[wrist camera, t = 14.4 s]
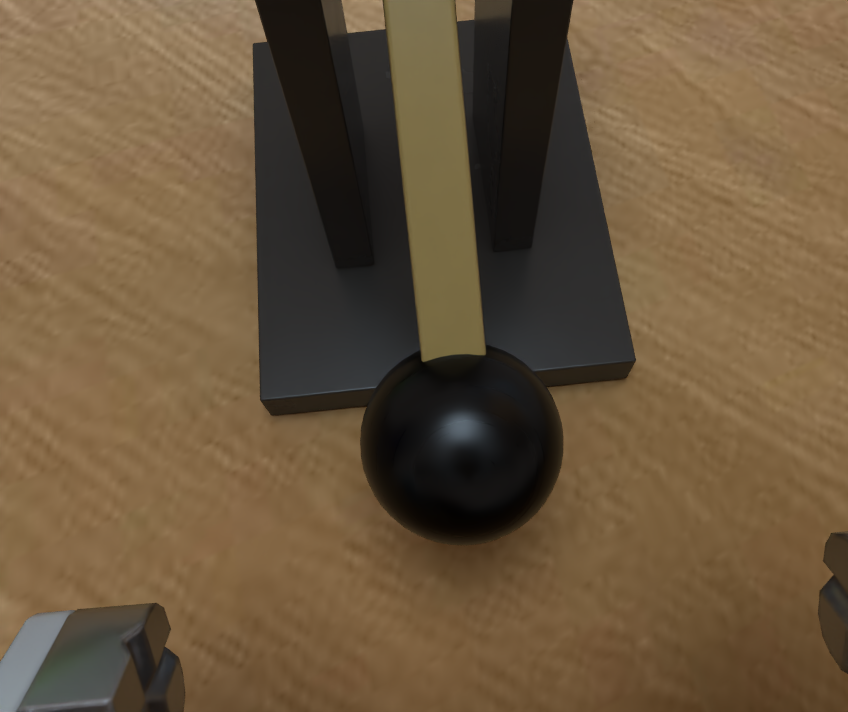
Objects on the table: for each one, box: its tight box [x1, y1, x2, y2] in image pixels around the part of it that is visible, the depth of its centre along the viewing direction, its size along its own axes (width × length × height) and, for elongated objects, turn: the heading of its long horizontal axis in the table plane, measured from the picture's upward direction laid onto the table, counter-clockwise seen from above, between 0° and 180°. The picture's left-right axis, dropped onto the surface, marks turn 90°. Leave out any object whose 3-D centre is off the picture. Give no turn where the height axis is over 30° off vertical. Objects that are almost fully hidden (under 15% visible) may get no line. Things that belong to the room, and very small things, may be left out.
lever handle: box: [360, 0, 563, 545], centre depth 13 cm, size 13×4×4 cm
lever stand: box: [253, 0, 636, 416], centre depth 16 cm, size 11×9×13 cm
